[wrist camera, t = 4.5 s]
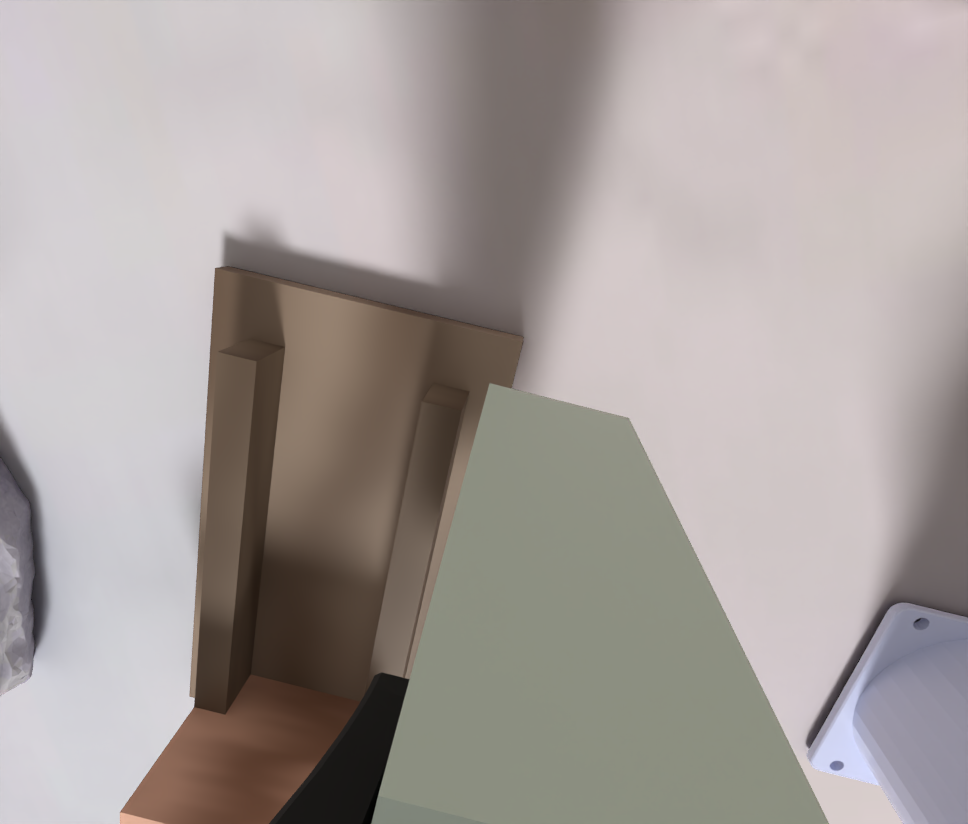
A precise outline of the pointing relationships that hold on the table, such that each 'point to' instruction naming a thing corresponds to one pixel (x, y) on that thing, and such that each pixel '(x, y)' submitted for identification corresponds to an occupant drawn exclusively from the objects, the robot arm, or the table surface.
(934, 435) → the table surface
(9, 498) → the stone block
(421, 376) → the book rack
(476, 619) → the book
